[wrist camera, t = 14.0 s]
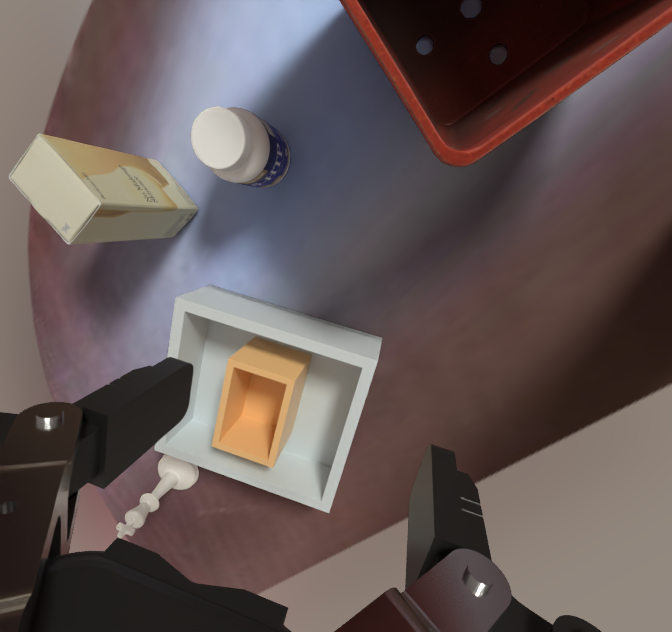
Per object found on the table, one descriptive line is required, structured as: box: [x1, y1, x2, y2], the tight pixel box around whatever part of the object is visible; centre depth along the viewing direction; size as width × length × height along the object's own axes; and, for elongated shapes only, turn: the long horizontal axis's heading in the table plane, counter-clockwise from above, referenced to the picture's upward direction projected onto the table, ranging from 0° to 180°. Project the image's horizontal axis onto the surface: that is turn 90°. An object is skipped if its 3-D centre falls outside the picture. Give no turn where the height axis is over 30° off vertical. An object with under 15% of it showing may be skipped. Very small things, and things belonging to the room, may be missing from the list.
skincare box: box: [9, 134, 198, 245], centre depth 31 cm, size 6×4×12 cm
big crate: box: [155, 285, 382, 513], centre depth 37 cm, size 18×16×6 cm
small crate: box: [212, 337, 312, 468], centre depth 36 cm, size 6×9×6 cm, turn 165°
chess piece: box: [116, 454, 199, 538], centre depth 41 cm, size 5×5×10 cm
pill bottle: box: [191, 107, 290, 188], centre depth 30 cm, size 5×5×9 cm
